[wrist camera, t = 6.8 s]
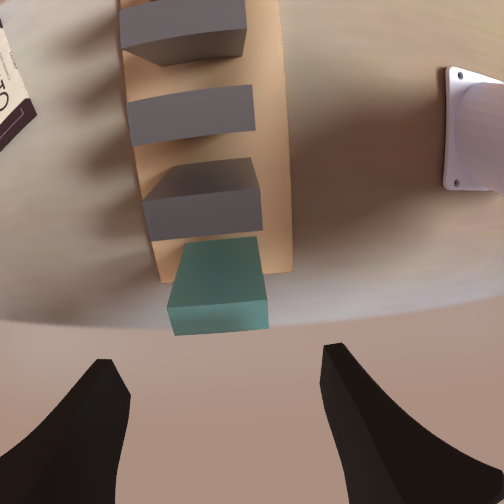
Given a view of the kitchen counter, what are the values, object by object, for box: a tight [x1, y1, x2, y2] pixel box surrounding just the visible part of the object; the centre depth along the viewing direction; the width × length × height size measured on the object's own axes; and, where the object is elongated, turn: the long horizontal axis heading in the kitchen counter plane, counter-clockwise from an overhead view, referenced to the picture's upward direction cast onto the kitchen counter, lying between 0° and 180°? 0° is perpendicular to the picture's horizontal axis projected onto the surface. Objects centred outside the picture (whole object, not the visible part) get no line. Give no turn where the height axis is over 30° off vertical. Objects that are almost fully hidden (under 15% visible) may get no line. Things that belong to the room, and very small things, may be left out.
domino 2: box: [126, 84, 256, 147], centre depth 11 cm, size 2×4×6 cm, turn 95°
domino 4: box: [167, 236, 269, 336], centre depth 15 cm, size 2×4×6 cm, turn 95°
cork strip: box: [120, 0, 293, 283], centre depth 15 cm, size 8×17×1 cm, turn 4°
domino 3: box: [141, 157, 263, 242], centre depth 13 cm, size 2×4×6 cm, turn 95°
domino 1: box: [119, 0, 247, 67], centre depth 10 cm, size 2×4×6 cm, turn 94°
